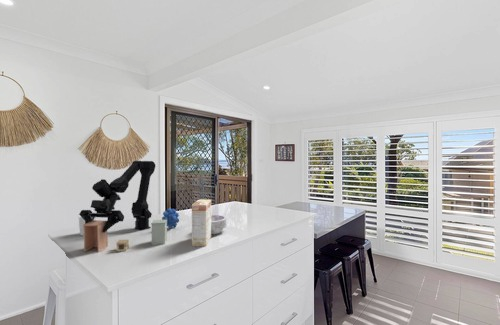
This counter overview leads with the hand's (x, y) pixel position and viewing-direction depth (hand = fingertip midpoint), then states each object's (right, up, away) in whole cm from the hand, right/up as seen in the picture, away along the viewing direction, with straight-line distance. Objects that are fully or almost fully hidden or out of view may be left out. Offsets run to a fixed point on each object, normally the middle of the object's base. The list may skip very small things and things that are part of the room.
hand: (94, 232), depth 117 cm
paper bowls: (+49, -8, +29) cm, 57 cm away
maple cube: (+12, -8, +1) cm, 15 cm away
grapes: (+24, -7, +35) cm, 43 cm away
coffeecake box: (+46, -8, +13) cm, 48 cm away
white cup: (-18, -8, +24) cm, 31 cm away
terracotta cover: (0, -8, +1) cm, 8 cm away
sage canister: (+25, -8, +11) cm, 29 cm away
